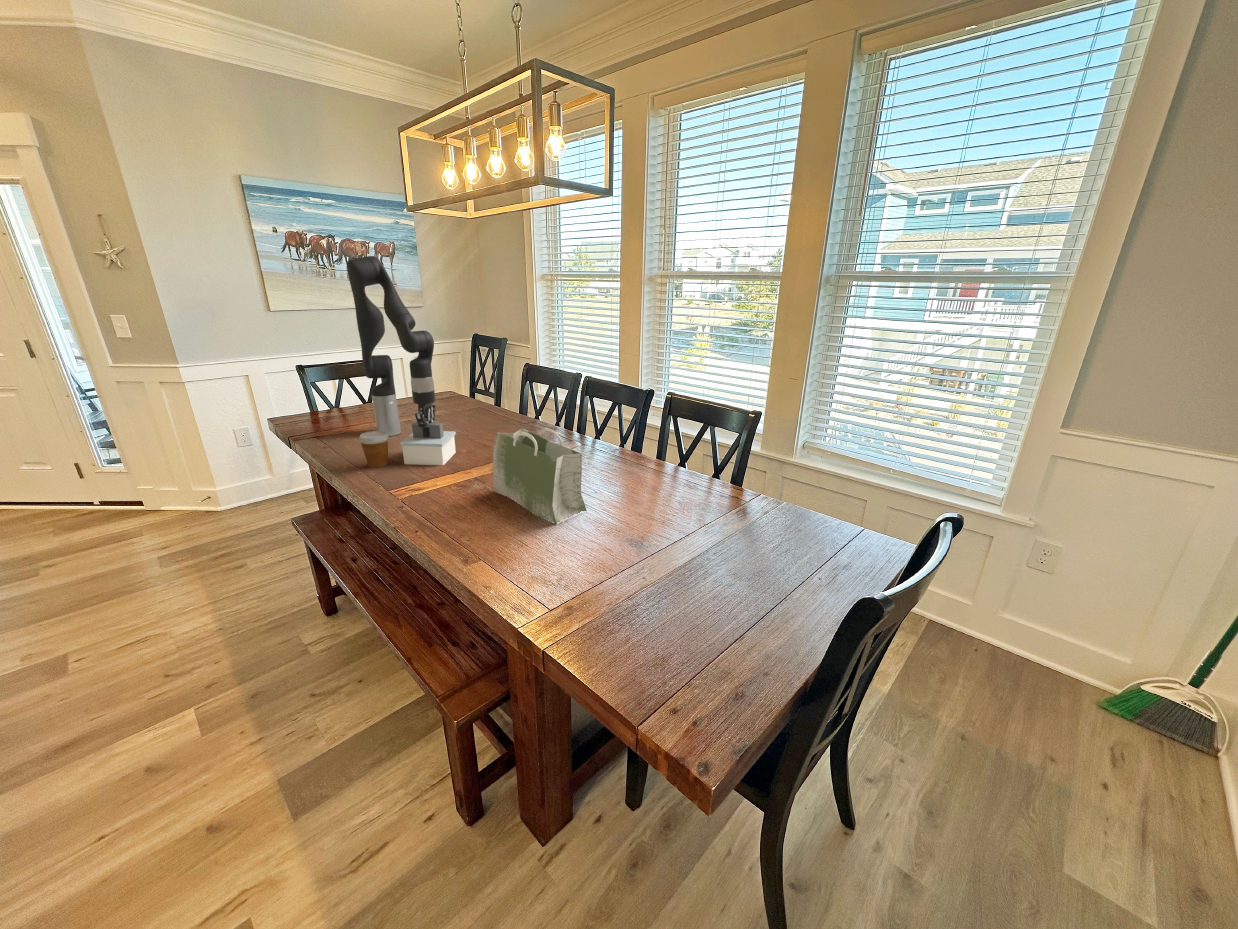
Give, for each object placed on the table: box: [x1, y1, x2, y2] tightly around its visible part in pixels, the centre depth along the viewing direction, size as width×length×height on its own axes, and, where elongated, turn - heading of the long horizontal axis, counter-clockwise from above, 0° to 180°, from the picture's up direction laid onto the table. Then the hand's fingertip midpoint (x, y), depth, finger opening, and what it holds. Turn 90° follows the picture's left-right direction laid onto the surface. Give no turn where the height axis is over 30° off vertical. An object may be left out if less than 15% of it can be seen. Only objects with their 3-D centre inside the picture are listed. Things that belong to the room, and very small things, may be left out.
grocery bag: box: [492, 427, 588, 525], centre depth 148 cm, size 32×14×23 cm, turn 47°
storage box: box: [401, 435, 457, 466], centre depth 181 cm, size 14×14×8 cm
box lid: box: [399, 421, 457, 447], centre depth 178 cm, size 15×15×7 cm
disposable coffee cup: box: [358, 430, 390, 469], centre depth 172 cm, size 10×10×12 cm
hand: (428, 435), depth 178 cm, fingers closed on box lid, 3 cm apart
